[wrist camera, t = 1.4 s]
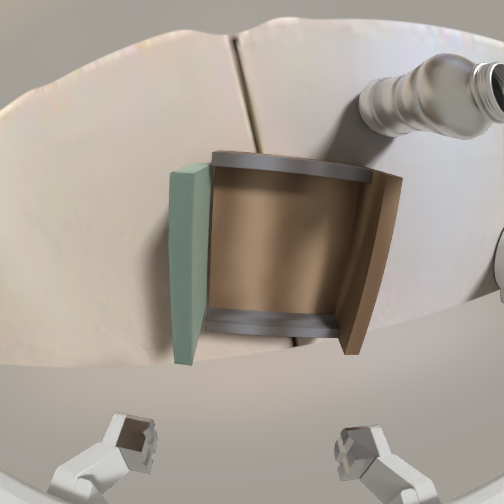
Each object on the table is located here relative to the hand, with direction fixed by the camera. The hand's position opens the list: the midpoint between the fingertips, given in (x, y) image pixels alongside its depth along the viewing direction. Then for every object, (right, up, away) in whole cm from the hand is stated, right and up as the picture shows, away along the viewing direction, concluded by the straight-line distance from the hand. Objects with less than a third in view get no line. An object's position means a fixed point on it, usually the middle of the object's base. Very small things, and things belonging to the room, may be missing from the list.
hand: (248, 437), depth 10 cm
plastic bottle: (+14, +23, +19) cm, 33 cm away
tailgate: (-4, +8, +21) cm, 23 cm away
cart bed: (+4, +8, +24) cm, 26 cm away
